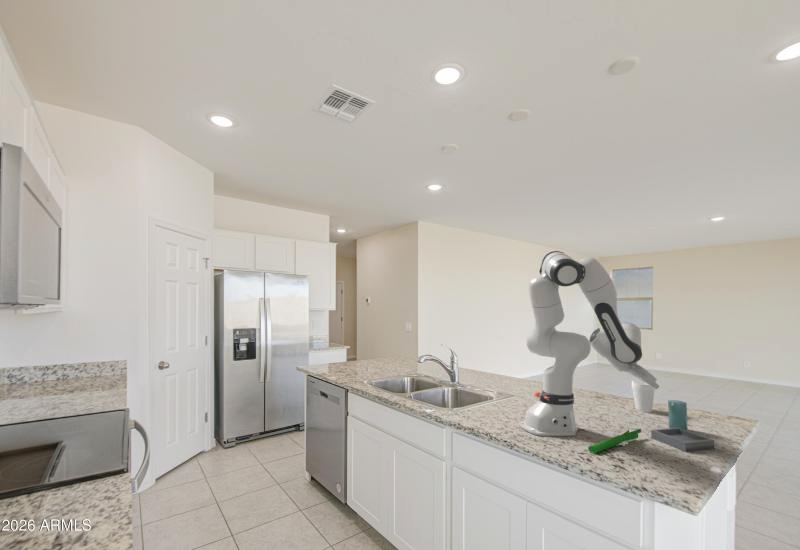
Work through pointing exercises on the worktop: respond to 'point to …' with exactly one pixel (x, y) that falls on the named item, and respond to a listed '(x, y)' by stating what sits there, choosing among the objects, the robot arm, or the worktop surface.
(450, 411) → the worktop surface
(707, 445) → the tray
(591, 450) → the green onion
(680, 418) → the teal cylinder
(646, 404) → the foam cup
